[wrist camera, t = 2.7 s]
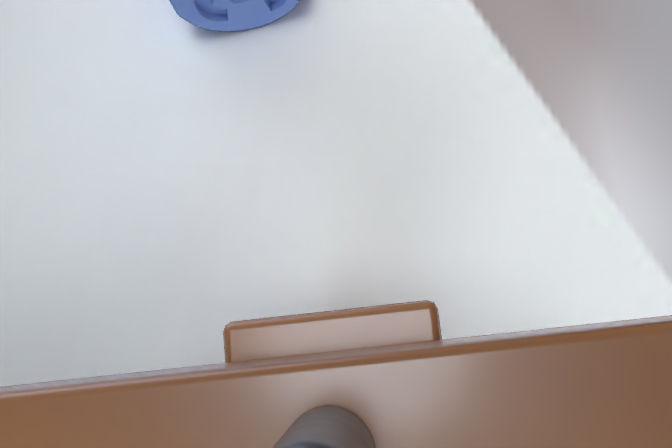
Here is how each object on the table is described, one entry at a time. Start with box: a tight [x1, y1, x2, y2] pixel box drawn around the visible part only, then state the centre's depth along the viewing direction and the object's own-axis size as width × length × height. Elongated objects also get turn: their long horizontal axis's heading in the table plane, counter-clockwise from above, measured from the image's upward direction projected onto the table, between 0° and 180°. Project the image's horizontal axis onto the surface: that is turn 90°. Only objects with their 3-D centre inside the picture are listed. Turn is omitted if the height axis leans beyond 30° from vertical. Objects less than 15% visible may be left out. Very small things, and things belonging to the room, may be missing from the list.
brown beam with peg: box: [0, 300, 672, 448], centre depth 11 cm, size 2×7×16 cm, turn 96°
